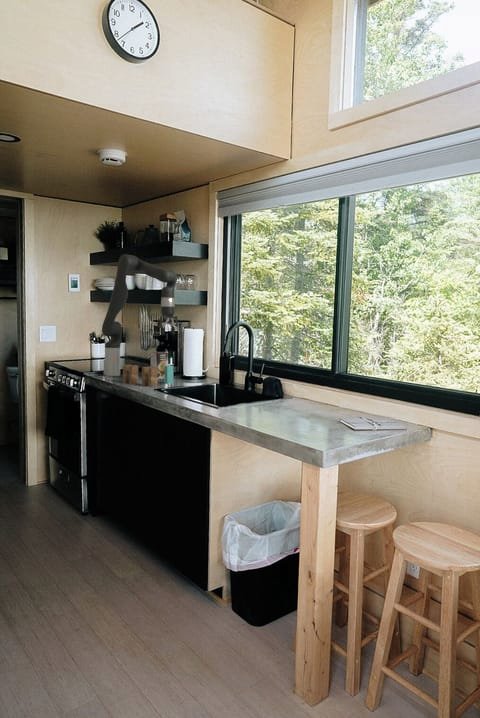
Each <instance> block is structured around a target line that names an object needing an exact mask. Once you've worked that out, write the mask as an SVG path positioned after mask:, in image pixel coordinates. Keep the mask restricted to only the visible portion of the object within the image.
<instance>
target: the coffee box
mask: <svg viewBox="0 0 480 718" xmlns="http://www.w3.org/2000/svg"><path fill="white" fill-rule="evenodd" d="M165 366H169V352H167V351H166V352H165V351H154V352H153V351H152V352H150V367H151V368H154V367H156V368H158V380H163V379H164V380H165Z"/></svg>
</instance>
